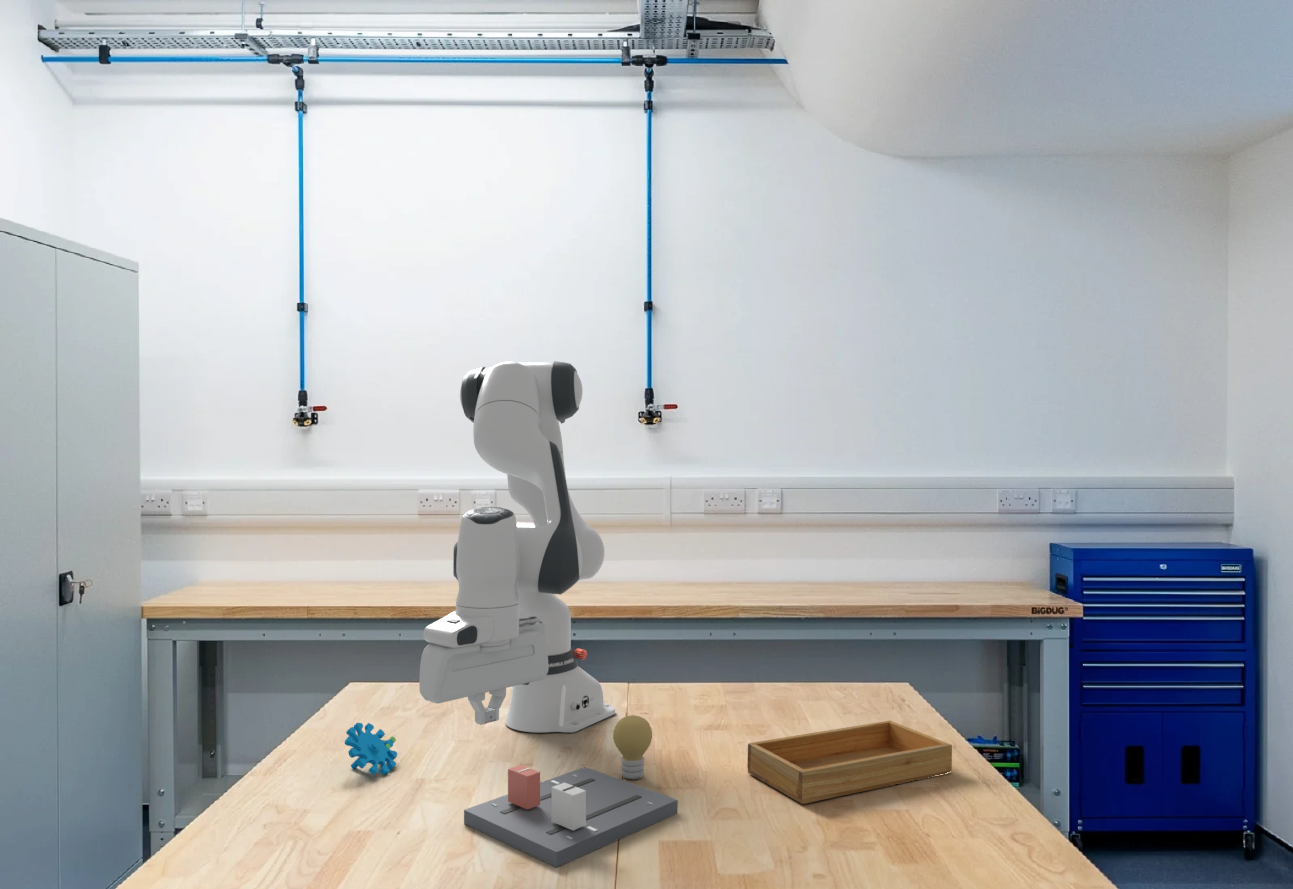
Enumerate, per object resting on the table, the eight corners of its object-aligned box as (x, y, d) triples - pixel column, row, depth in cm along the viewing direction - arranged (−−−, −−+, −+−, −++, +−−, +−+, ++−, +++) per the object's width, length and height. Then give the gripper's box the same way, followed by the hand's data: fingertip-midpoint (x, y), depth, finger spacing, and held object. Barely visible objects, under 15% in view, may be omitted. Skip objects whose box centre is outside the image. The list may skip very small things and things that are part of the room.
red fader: (520, 796, 139) (520, 764, 139) (540, 804, 136) (540, 771, 136) (507, 801, 137) (508, 768, 137) (527, 809, 134) (527, 775, 134)
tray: (889, 748, 169) (889, 717, 169) (952, 776, 155) (952, 742, 155) (746, 777, 155) (747, 742, 155) (802, 809, 141) (802, 772, 141)
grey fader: (564, 816, 132) (564, 781, 132) (585, 825, 129) (585, 789, 129) (551, 821, 130) (551, 786, 130) (572, 830, 127) (573, 794, 127)
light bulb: (657, 772, 155) (657, 712, 155) (644, 786, 149) (644, 724, 149) (621, 768, 158) (621, 709, 157) (607, 781, 151) (607, 719, 151)
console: (585, 779, 152) (585, 766, 152) (677, 813, 139) (677, 798, 139) (464, 823, 135) (464, 809, 135) (556, 867, 121) (556, 851, 121)
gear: (369, 775, 149) (339, 724, 153) (346, 797, 151) (317, 746, 155) (413, 763, 159) (384, 715, 163) (392, 784, 161) (363, 736, 165)
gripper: (530, 611, 141) (529, 703, 141) (413, 630, 126) (412, 732, 126) (558, 617, 137) (557, 711, 137) (440, 637, 122) (439, 743, 122)
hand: (486, 722), depth 131 cm, fingers closed
